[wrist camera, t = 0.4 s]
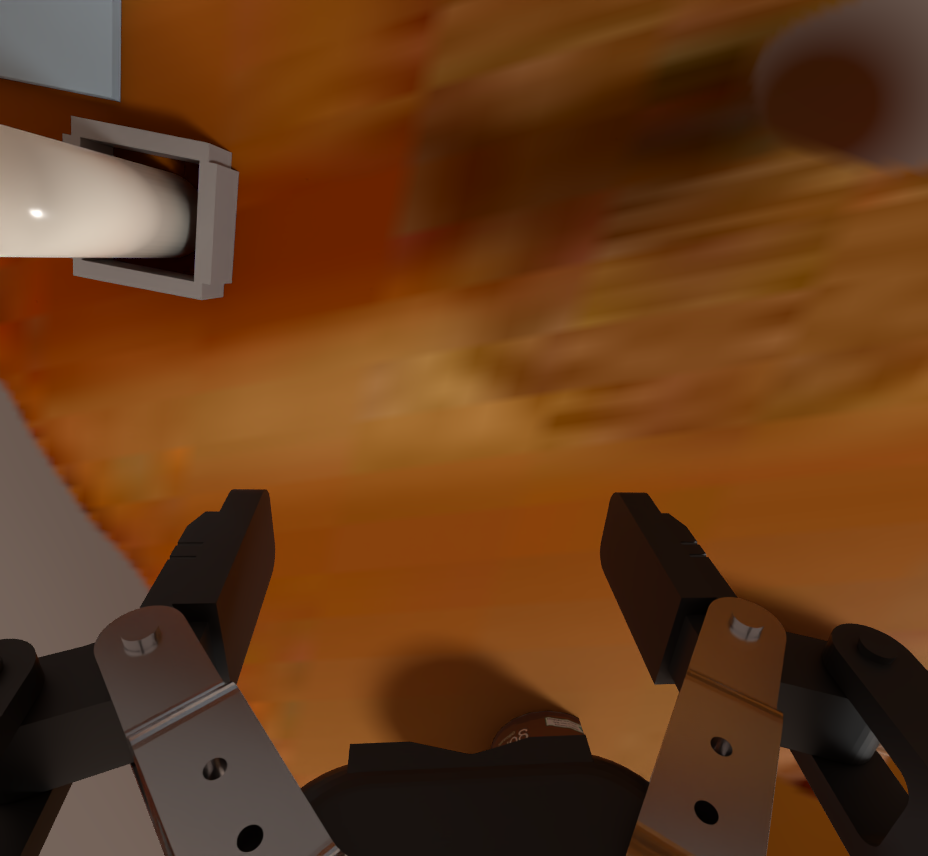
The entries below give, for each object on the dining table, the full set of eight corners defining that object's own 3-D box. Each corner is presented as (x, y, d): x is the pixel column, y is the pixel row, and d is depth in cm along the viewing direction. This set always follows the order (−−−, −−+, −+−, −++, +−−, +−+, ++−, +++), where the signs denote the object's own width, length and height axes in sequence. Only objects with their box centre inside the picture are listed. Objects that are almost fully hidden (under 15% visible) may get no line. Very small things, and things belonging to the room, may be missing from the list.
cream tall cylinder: (126, 163, 35) (-95, 103, 22) (209, 179, 35) (41, 129, 22) (125, 249, 36) (-83, 243, 23) (205, 265, 37) (44, 268, 23)
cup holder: (97, 126, 34) (62, 113, 32) (240, 154, 35) (218, 144, 32) (97, 272, 37) (65, 273, 34) (230, 298, 37) (209, 301, 34)
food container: (523, 673, 45) (535, 785, 35) (588, 705, 46) (617, 823, 36) (449, 776, 48) (441, 904, 39) (511, 805, 49) (519, 938, 39)
